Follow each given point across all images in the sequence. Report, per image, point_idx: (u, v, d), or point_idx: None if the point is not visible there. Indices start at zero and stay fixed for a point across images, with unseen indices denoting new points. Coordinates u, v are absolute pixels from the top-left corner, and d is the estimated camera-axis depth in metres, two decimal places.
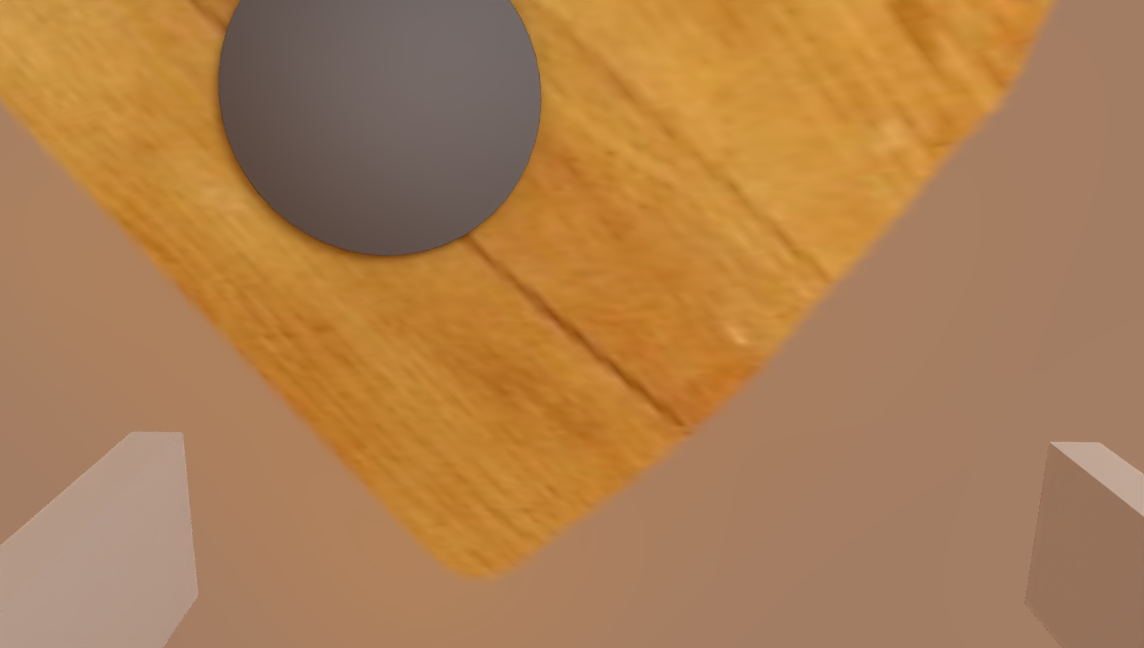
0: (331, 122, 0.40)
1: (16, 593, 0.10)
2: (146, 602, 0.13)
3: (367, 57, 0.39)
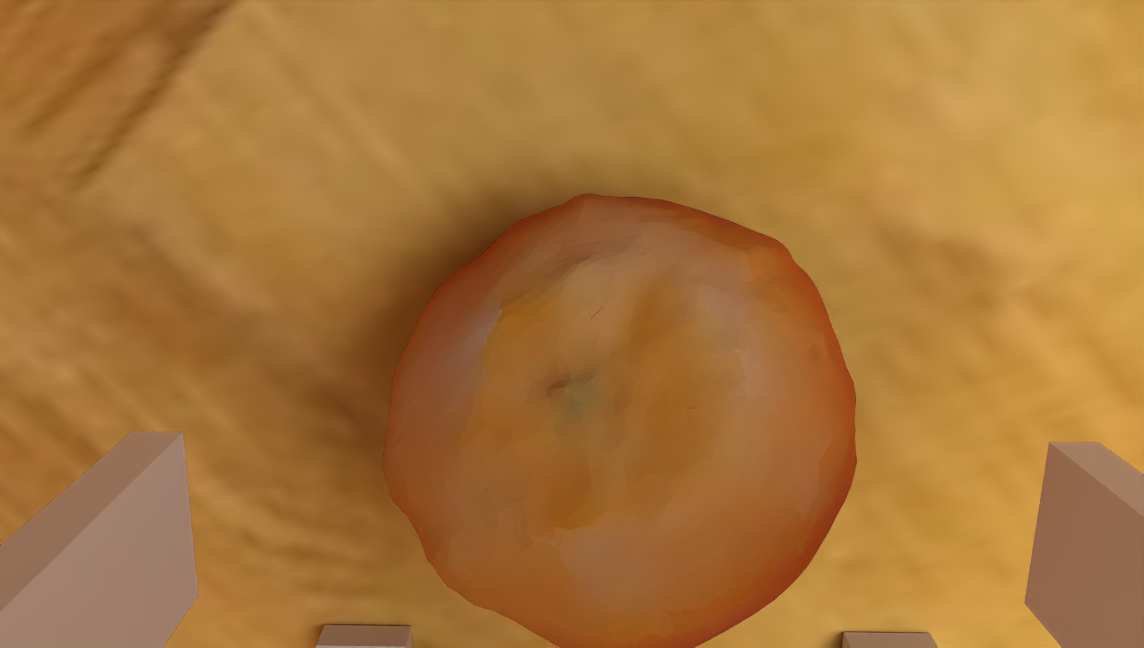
0: None
1: (16, 593, 0.10)
2: (146, 602, 0.13)
3: None
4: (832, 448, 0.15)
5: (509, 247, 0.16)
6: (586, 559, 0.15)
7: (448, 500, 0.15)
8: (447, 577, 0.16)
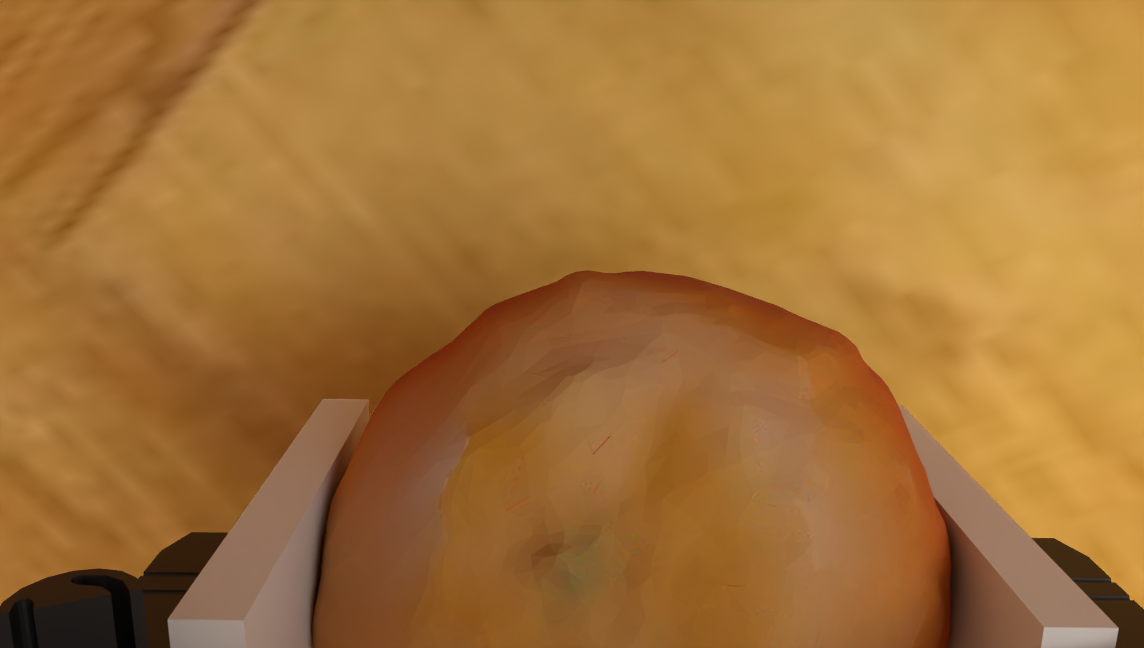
0: None
1: (293, 527, 0.12)
2: None
3: None
4: (927, 628, 0.11)
5: (480, 344, 0.12)
6: None
7: None
8: None
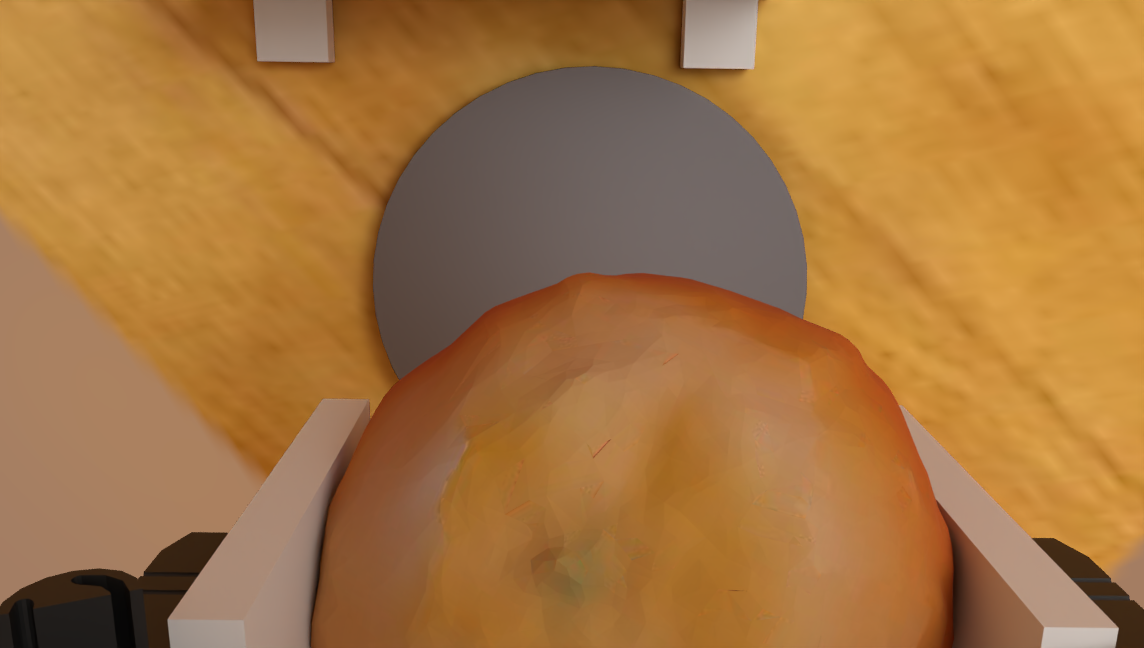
0: None
1: (293, 527, 0.12)
2: None
3: (576, 238, 0.29)
4: (930, 632, 0.11)
5: (479, 346, 0.12)
6: None
7: None
8: None
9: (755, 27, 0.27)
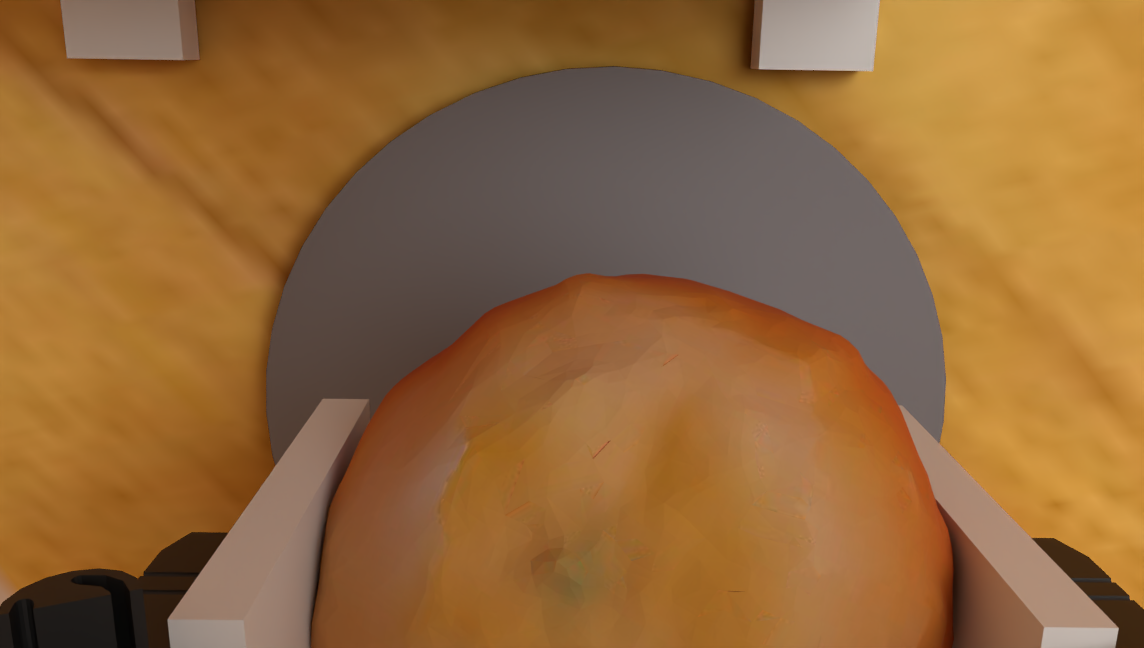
0: None
1: (293, 527, 0.12)
2: None
3: None
4: (929, 633, 0.11)
5: (479, 347, 0.12)
6: None
7: None
8: None
9: (877, 3, 0.17)
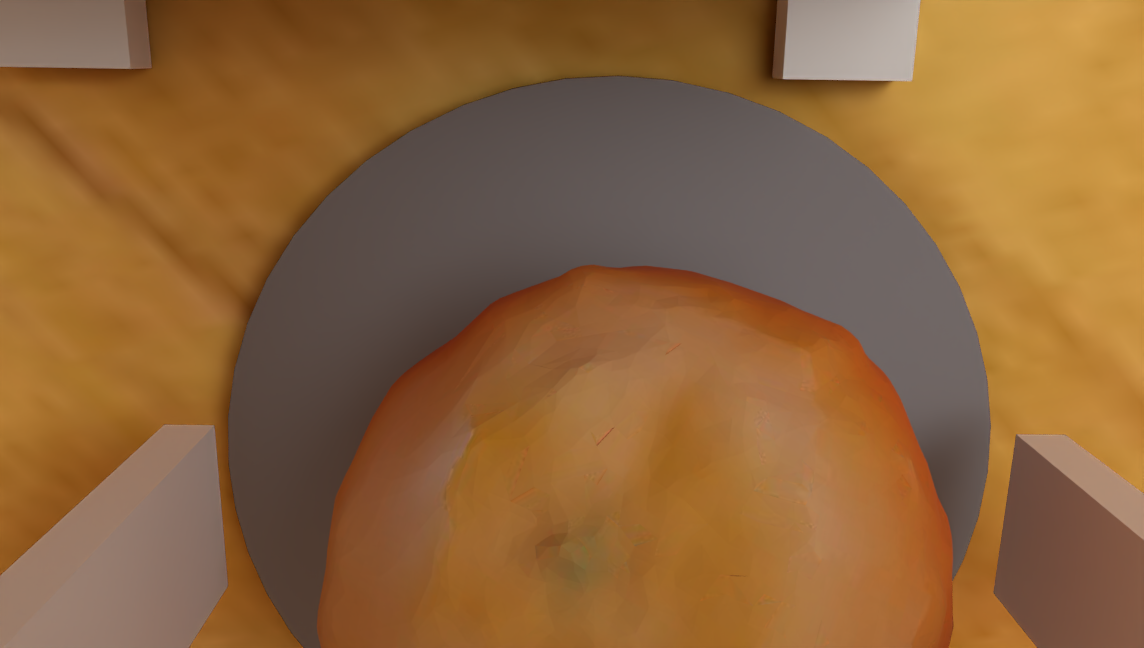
0: None
1: (65, 579, 0.10)
2: (181, 591, 0.14)
3: None
4: (929, 619, 0.11)
5: (484, 337, 0.12)
6: None
7: None
8: None
9: (918, 4, 0.15)
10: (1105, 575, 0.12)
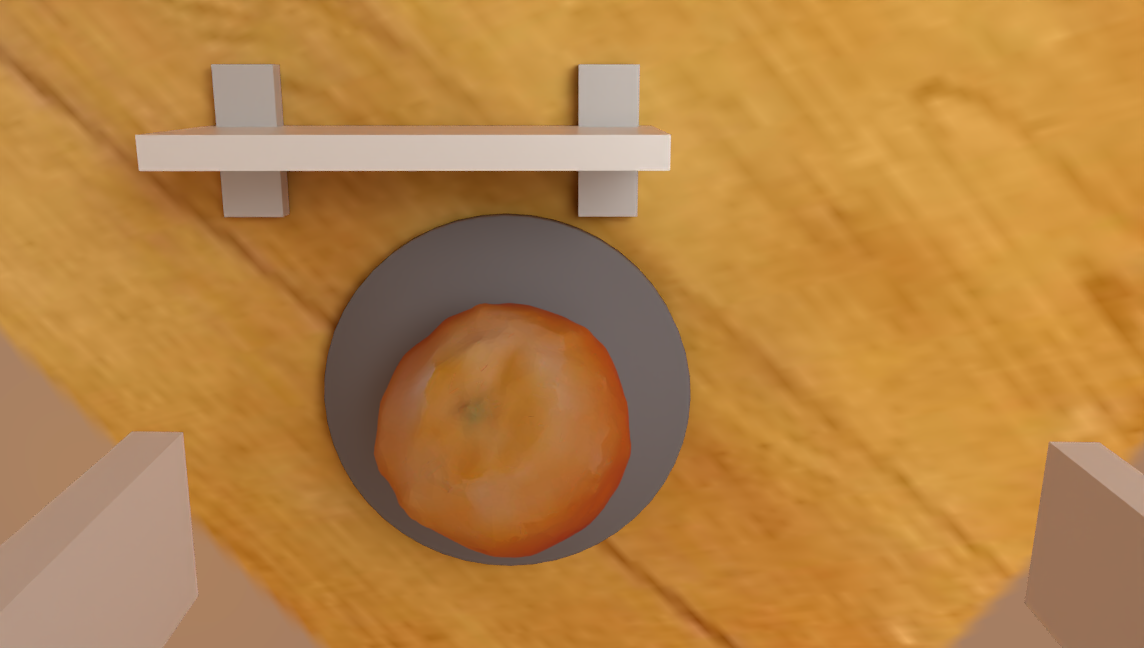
0: None
1: (16, 593, 0.10)
2: (146, 602, 0.13)
3: None
4: (609, 437, 0.29)
5: (440, 333, 0.30)
6: (479, 495, 0.28)
7: (408, 469, 0.29)
8: (409, 511, 0.30)
9: (636, 183, 0.33)
10: None
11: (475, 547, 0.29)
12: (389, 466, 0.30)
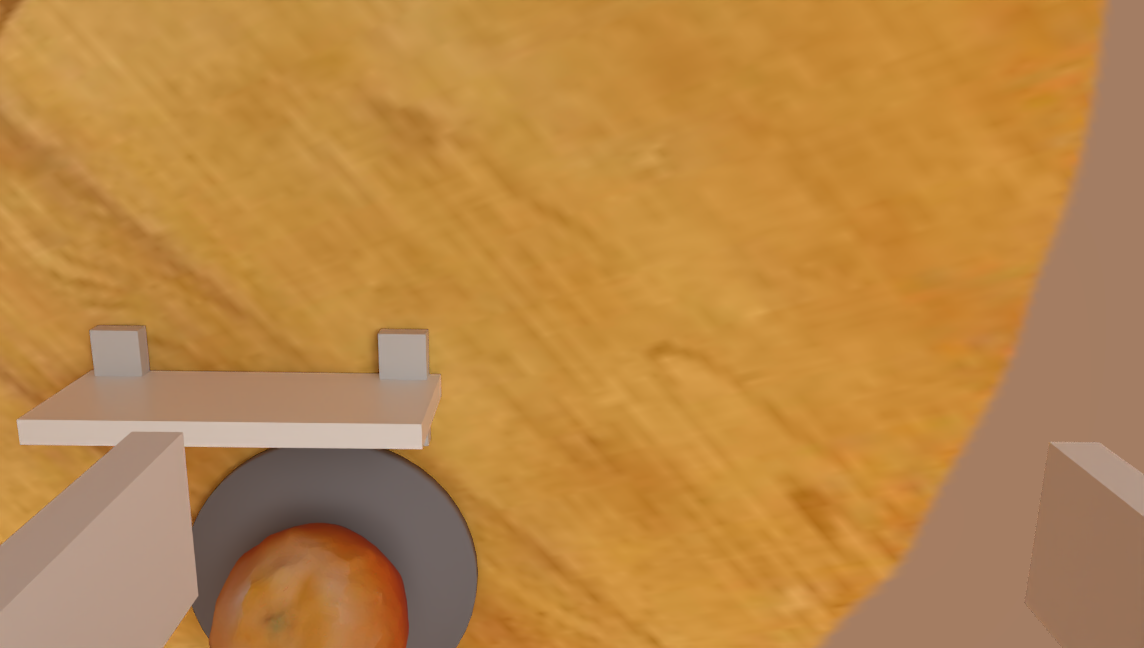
0: None
1: (16, 593, 0.10)
2: (146, 602, 0.13)
3: None
4: (382, 640, 0.38)
5: (260, 552, 0.39)
6: None
7: None
8: None
9: None
10: None
11: None
12: None
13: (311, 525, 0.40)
